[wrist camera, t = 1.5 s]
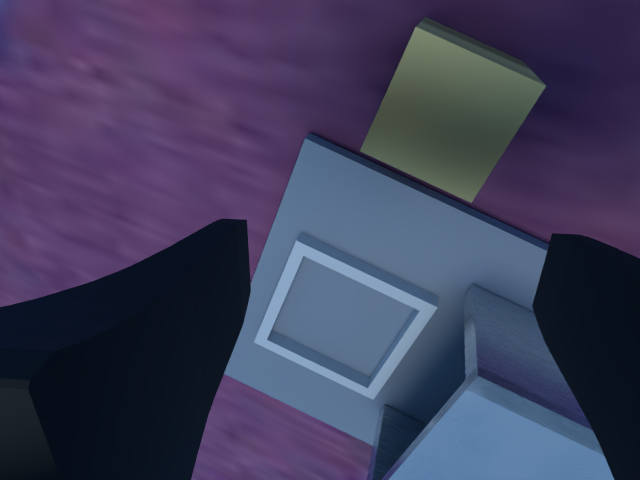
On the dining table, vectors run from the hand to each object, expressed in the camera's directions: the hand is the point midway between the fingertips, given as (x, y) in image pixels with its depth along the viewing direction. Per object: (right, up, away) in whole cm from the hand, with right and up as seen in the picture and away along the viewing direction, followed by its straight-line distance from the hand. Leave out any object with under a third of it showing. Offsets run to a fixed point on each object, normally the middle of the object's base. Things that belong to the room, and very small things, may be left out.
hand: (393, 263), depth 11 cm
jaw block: (+3, +6, +7) cm, 10 cm away
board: (+3, -5, +13) cm, 14 cm away
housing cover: (+7, -7, +13) cm, 17 cm away
